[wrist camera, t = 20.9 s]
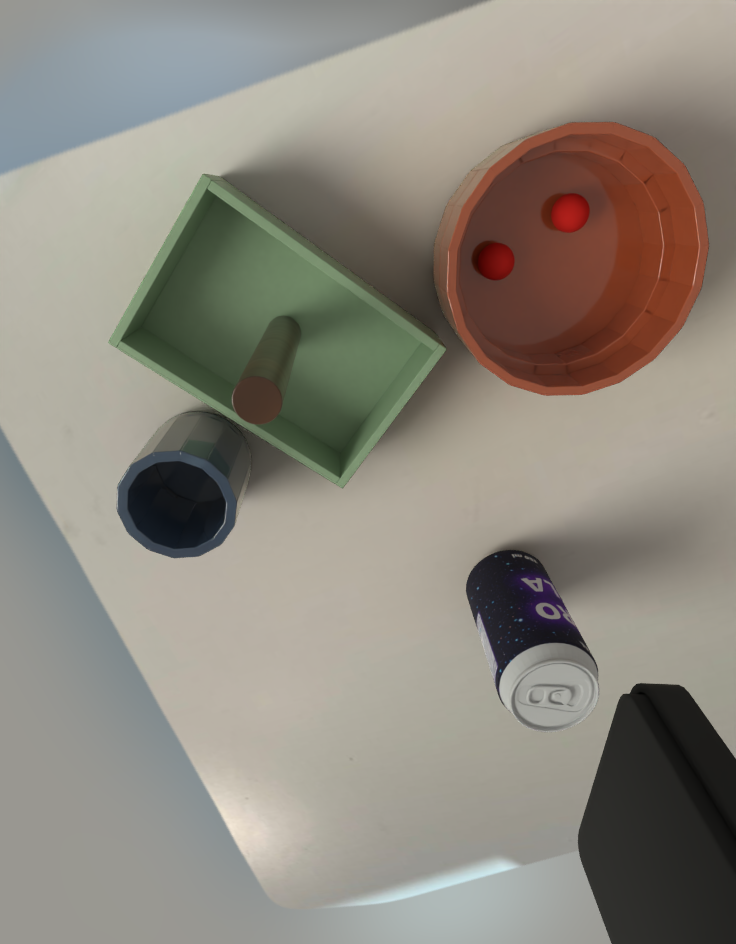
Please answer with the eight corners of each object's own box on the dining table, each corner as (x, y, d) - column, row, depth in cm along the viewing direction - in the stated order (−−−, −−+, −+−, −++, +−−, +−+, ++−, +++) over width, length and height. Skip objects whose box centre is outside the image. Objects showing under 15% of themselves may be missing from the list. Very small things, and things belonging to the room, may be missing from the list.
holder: (132, 472, 43) (95, 521, 36) (182, 390, 41) (152, 427, 34) (219, 521, 44) (198, 577, 38) (271, 445, 42) (259, 491, 36)
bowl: (387, 287, 39) (395, 302, 33) (531, 78, 35) (567, 56, 29) (552, 407, 42) (585, 440, 36) (701, 229, 38) (762, 235, 33)
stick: (260, 336, 39) (221, 407, 26) (278, 308, 38) (248, 366, 26) (289, 356, 40) (265, 434, 27) (307, 328, 39) (292, 394, 26)
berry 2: (552, 185, 36) (538, 223, 37) (574, 191, 34) (559, 230, 35) (581, 196, 37) (566, 232, 38) (603, 202, 35) (587, 240, 36)
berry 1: (467, 250, 37) (475, 268, 36) (499, 229, 36) (508, 246, 35) (484, 275, 38) (493, 294, 37) (515, 254, 38) (524, 273, 36)
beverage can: (536, 613, 48) (595, 739, 37) (459, 611, 48) (495, 736, 37) (550, 545, 46) (616, 656, 35) (469, 541, 46) (511, 653, 34)
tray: (132, 327, 39) (107, 342, 35) (218, 175, 36) (203, 173, 32) (342, 460, 43) (342, 488, 39) (436, 333, 40) (447, 349, 36)
